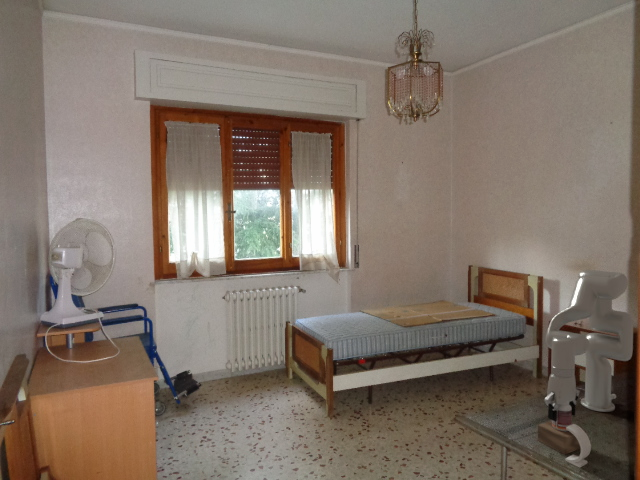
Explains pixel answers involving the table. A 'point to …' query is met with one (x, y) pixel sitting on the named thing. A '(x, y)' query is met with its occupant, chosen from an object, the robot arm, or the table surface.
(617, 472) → the table surface
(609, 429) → the table surface
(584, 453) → the headphone stand
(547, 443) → the walnut block
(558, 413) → the pill bottle
